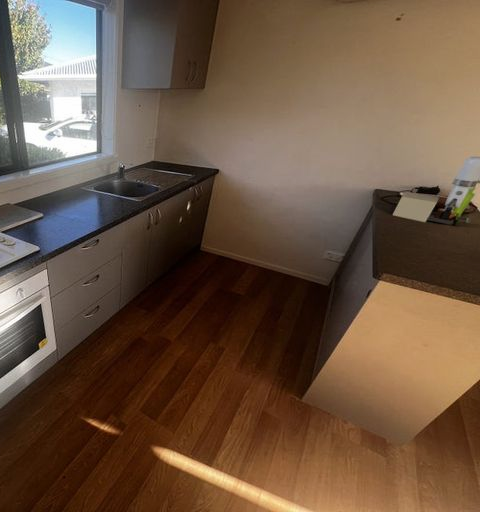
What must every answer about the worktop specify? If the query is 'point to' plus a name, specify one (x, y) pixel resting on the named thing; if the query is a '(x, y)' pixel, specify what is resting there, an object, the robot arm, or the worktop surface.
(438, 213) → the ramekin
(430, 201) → the cream box
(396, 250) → the worktop surface
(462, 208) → the soap dispenser
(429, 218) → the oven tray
